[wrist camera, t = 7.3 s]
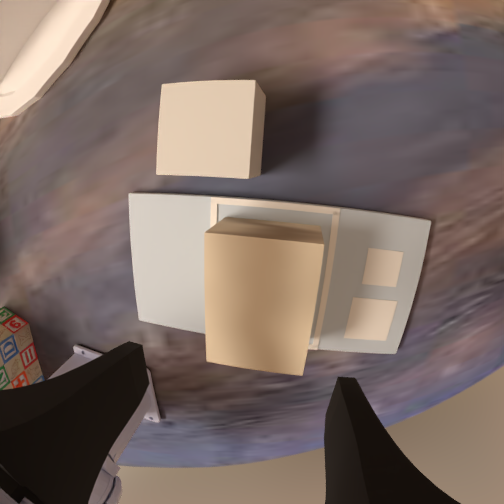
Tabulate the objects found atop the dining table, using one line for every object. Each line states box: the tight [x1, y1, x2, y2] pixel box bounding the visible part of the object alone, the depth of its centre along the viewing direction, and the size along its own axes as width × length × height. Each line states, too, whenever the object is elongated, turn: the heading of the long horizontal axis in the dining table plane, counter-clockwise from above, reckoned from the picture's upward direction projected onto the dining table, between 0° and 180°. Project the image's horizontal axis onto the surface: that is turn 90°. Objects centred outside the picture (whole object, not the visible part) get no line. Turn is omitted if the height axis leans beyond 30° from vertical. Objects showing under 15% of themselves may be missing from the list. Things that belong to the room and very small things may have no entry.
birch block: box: [204, 217, 324, 376], centre depth 17 cm, size 6×8×4 cm
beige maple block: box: [156, 80, 266, 179], centre depth 15 cm, size 5×5×4 cm
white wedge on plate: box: [0, 0, 110, 118], centre depth 10 cm, size 25×25×11 cm
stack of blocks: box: [0, 307, 45, 390], centre depth 25 cm, size 21×6×12 cm, turn 169°
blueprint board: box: [129, 192, 431, 354], centre depth 19 cm, size 20×10×1 cm, turn 87°
